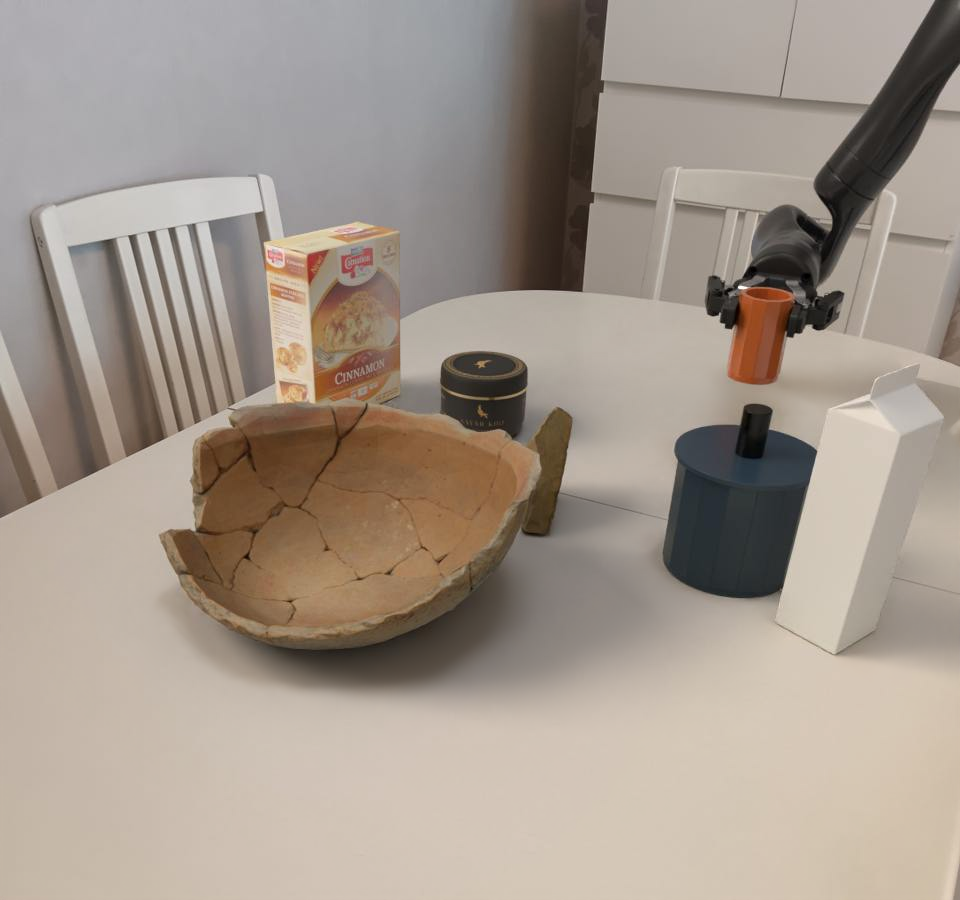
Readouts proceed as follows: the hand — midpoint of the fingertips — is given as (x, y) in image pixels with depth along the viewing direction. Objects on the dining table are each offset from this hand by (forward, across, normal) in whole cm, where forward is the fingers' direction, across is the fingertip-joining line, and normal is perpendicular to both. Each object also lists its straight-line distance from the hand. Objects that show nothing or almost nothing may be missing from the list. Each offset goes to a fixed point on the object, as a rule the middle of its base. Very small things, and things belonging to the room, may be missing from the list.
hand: (760, 322), depth 91 cm
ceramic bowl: (+32, -27, +18) cm, 46 cm away
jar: (-5, -29, +18) cm, 35 cm away
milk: (+22, +12, +18) cm, 31 cm away
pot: (+15, +2, +18) cm, 23 cm away
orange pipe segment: (-3, 0, +6) cm, 7 cm away
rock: (+12, -18, +18) cm, 28 cm away
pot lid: (+15, +2, +7) cm, 17 cm away
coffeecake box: (-4, -47, +18) cm, 51 cm away
